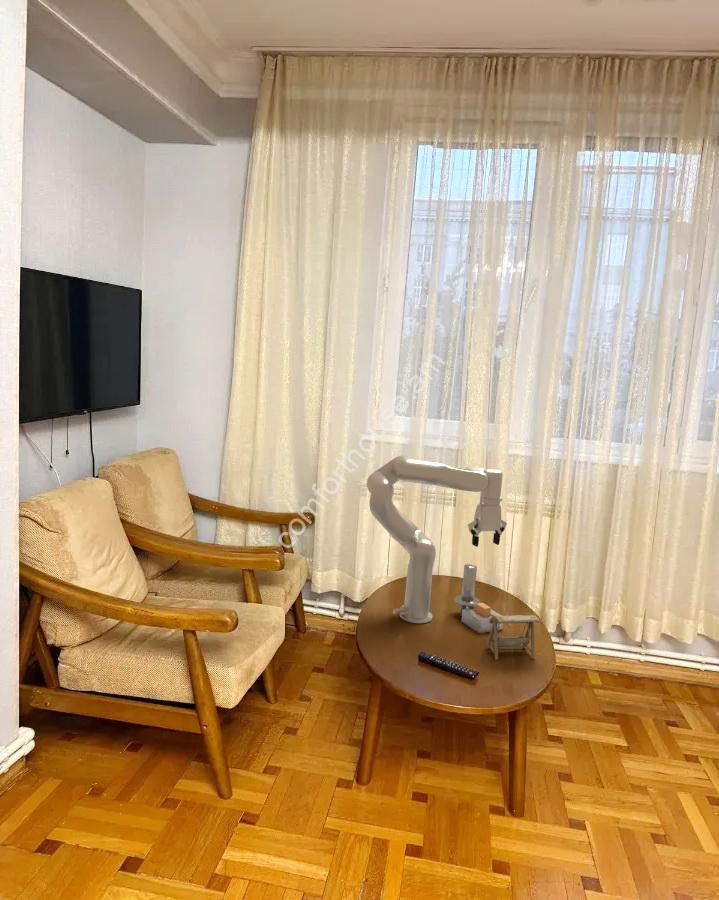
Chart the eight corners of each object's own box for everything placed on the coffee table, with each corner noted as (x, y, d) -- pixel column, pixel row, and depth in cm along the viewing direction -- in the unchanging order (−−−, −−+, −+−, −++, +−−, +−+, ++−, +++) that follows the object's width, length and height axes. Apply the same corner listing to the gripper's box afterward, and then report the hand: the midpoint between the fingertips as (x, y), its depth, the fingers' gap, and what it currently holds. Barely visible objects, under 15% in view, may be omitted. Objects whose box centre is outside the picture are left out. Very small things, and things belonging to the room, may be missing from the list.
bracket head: (479, 633, 252) (484, 581, 248) (446, 612, 269) (451, 563, 266) (502, 629, 257) (508, 578, 254) (469, 608, 275) (474, 561, 271)
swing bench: (524, 647, 243) (529, 608, 240) (535, 660, 233) (540, 619, 231) (485, 648, 240) (489, 608, 238) (495, 660, 231) (499, 619, 228)
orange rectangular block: (482, 628, 256) (484, 608, 255) (474, 623, 260) (476, 603, 259) (488, 627, 257) (490, 607, 256) (480, 622, 262) (482, 602, 260)
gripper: (502, 498, 267) (498, 540, 269) (465, 499, 259) (461, 543, 262) (514, 502, 260) (509, 546, 263) (476, 504, 253) (472, 549, 256)
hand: (485, 544), depth 263 cm, fingers open, 9 cm apart
